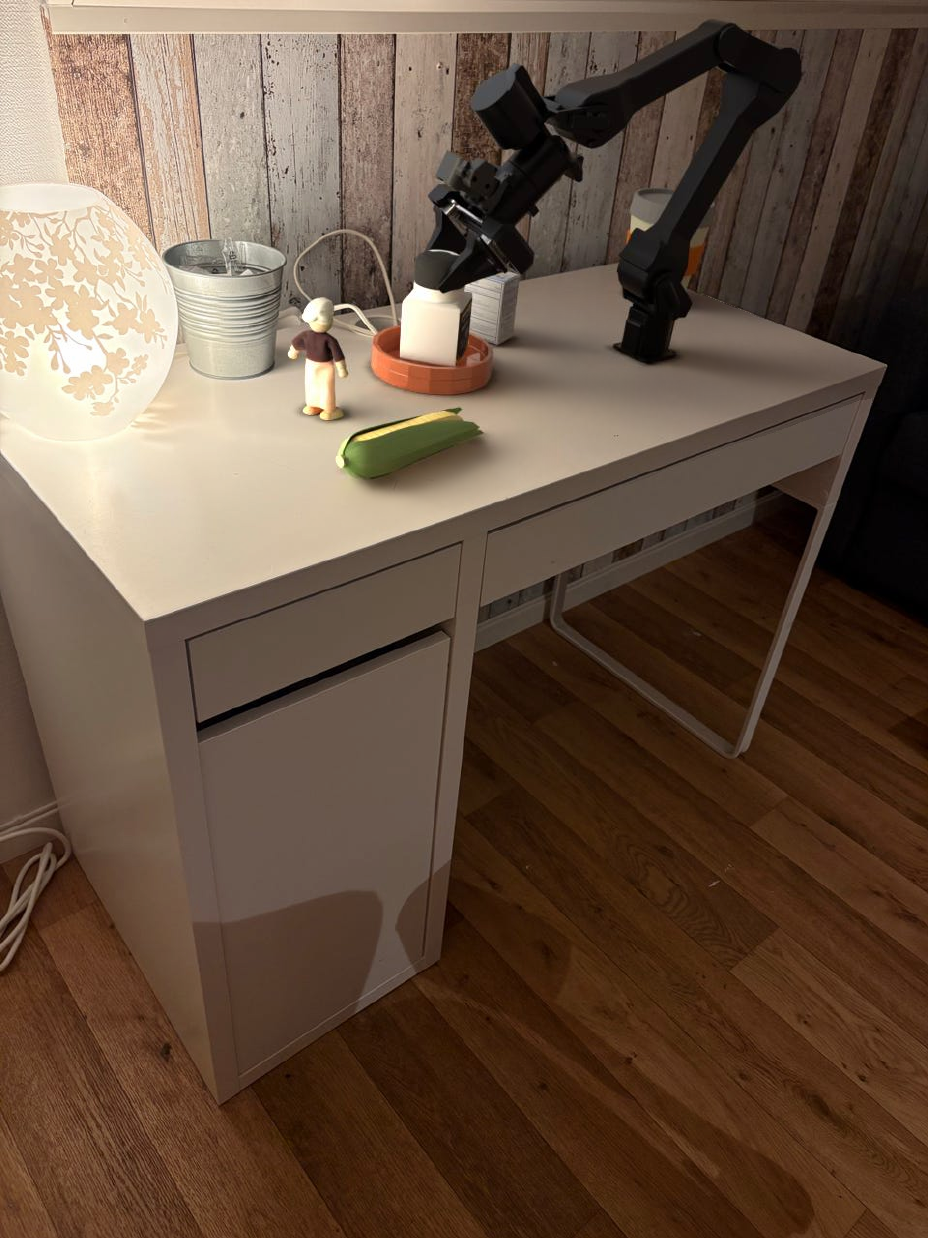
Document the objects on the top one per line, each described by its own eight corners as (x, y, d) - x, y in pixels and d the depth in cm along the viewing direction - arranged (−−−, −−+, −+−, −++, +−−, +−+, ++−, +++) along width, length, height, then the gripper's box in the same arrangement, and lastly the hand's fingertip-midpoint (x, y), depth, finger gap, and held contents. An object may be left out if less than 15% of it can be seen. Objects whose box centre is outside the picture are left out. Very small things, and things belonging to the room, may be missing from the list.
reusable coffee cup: (674, 317, 147) (698, 213, 138) (600, 295, 152) (619, 194, 143) (704, 299, 156) (729, 200, 147) (634, 279, 161) (653, 183, 152)
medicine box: (513, 338, 133) (522, 274, 127) (497, 346, 129) (504, 281, 124) (465, 322, 136) (471, 259, 130) (447, 330, 132) (453, 266, 127)
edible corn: (322, 474, 96) (323, 432, 93) (464, 426, 108) (468, 388, 106) (355, 495, 93) (357, 452, 91) (497, 444, 106) (502, 405, 103)
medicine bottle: (456, 368, 116) (465, 267, 109) (398, 359, 117) (404, 257, 110) (468, 348, 122) (477, 250, 115) (413, 339, 123) (419, 241, 116)
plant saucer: (440, 340, 129) (442, 316, 127) (515, 381, 120) (518, 356, 118) (348, 358, 121) (348, 333, 119) (420, 403, 112) (422, 377, 110)
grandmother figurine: (357, 412, 108) (361, 300, 101) (343, 425, 105) (346, 310, 98) (295, 397, 110) (294, 285, 102) (279, 410, 107) (277, 295, 99)
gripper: (449, 108, 112) (357, 210, 115) (523, 144, 99) (417, 258, 101) (501, 180, 120) (414, 274, 122) (576, 222, 107) (477, 326, 109)
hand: (428, 281), depth 114 cm, fingers closed on medicine bottle, 6 cm apart
